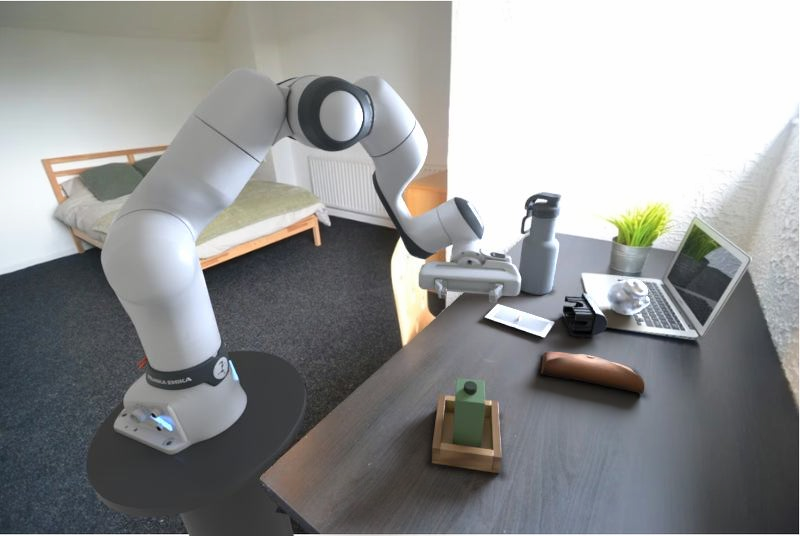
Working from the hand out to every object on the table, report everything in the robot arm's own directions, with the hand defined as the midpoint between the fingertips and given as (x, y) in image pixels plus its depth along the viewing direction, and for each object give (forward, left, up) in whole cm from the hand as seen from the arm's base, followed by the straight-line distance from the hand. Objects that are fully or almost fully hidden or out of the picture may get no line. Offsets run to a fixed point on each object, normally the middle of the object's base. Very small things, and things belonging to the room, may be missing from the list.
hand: (467, 297), depth 70 cm
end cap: (+28, +22, -18) cm, 40 cm away
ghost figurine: (+40, +30, -18) cm, 53 cm away
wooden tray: (+1, -16, -18) cm, 24 cm away
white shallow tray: (+13, +21, -18) cm, 31 cm away
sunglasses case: (+25, +4, -18) cm, 31 cm away
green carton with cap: (+1, -16, -18) cm, 24 cm away
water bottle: (+19, +41, -18) cm, 49 cm away
